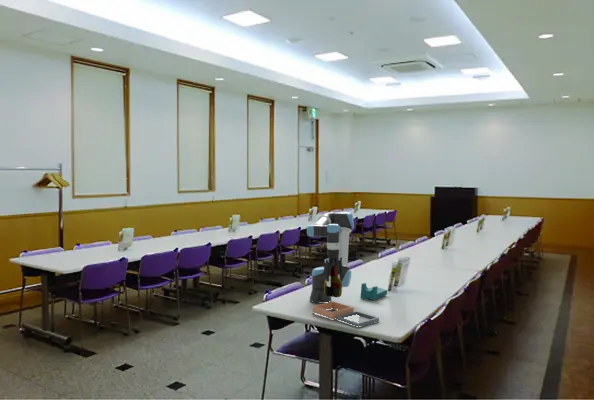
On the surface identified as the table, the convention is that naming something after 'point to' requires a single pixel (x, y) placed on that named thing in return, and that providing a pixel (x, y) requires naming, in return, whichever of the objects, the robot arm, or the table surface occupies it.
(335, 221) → the robot arm
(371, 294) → the teal l-shaped bracket
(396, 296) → the table surface
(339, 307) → the holder
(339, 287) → the bottle
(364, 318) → the tray
